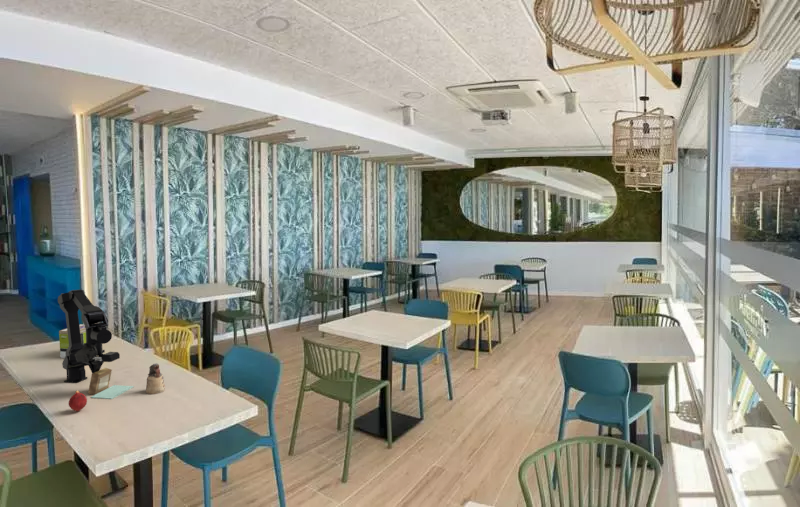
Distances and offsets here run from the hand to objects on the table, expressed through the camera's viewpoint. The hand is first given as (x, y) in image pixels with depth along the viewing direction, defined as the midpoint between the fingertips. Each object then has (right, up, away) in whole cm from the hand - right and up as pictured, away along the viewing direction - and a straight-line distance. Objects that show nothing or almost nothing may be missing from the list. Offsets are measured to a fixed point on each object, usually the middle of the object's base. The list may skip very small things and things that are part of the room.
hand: (95, 376), depth 205 cm
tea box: (-40, -2, +51) cm, 65 cm away
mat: (+7, -7, 0) cm, 10 cm away
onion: (+6, -9, -20) cm, 23 cm away
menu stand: (+1, -6, +1) cm, 6 cm away
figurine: (+24, -7, +2) cm, 25 cm away
